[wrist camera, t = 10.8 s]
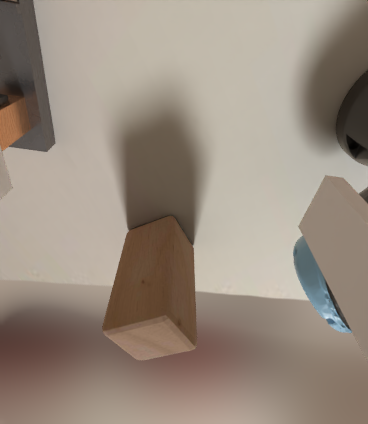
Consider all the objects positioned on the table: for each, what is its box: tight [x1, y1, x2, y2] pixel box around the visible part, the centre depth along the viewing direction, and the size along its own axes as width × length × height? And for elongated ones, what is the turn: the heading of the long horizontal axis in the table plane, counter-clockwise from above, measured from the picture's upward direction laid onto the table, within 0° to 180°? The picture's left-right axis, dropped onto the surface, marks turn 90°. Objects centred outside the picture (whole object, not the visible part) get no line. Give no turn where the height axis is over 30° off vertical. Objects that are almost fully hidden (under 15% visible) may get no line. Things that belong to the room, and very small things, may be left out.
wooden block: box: [102, 216, 197, 361], centre depth 42 cm, size 10×10×20 cm
